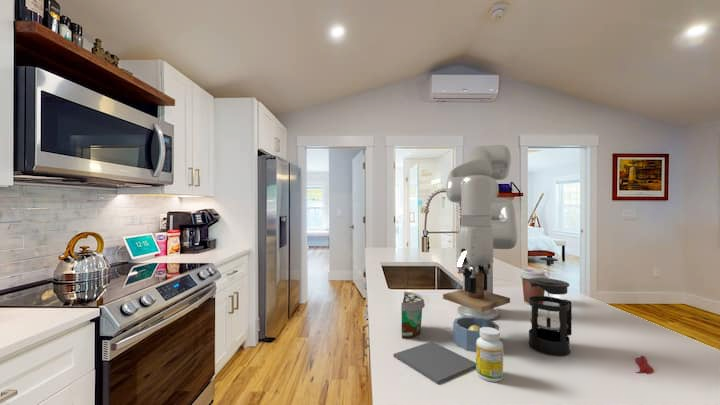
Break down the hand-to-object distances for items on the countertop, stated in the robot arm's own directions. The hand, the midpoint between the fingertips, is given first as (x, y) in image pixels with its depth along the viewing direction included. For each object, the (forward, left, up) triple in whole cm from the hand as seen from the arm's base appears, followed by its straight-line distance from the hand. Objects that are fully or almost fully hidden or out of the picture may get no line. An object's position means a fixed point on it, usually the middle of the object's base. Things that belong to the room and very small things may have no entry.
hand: (475, 290), depth 84 cm
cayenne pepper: (-22, +29, -14) cm, 39 cm away
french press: (-13, +12, -14) cm, 23 cm away
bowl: (+1, 0, -14) cm, 14 cm away
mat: (+17, +1, -14) cm, 22 cm away
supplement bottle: (+12, +12, -14) cm, 22 cm away
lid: (0, 0, -3) cm, 3 cm away
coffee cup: (-47, -10, -14) cm, 50 cm away
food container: (+10, -14, -14) cm, 22 cm away
